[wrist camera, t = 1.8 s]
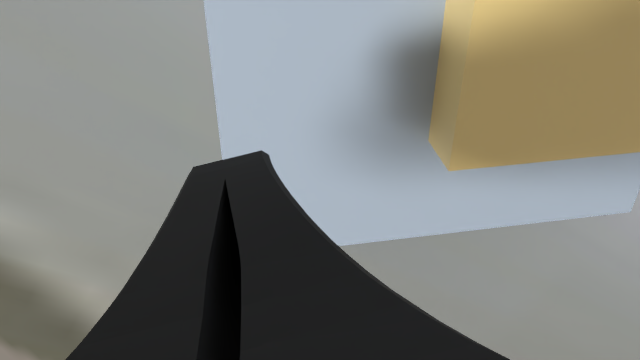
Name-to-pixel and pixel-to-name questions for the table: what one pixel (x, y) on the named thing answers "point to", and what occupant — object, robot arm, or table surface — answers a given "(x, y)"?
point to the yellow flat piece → (536, 81)
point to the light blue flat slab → (376, 124)
